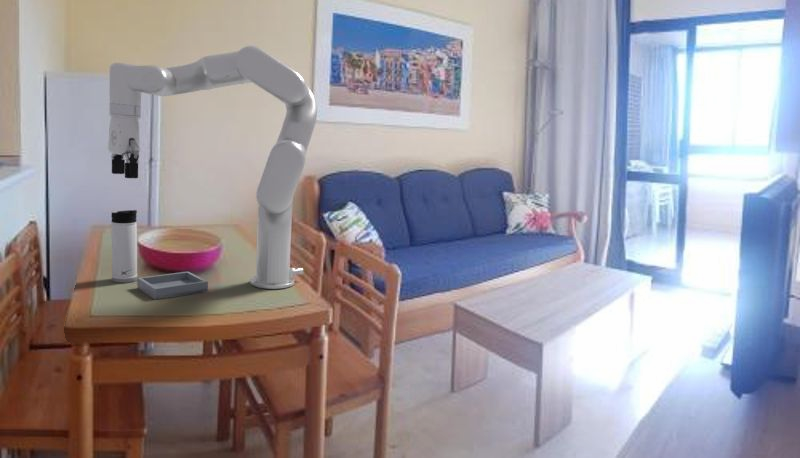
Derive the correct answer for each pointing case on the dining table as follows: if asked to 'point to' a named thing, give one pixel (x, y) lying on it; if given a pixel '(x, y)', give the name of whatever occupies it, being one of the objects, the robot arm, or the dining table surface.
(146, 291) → the tray
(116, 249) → the travel mug
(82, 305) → the dining table surface
